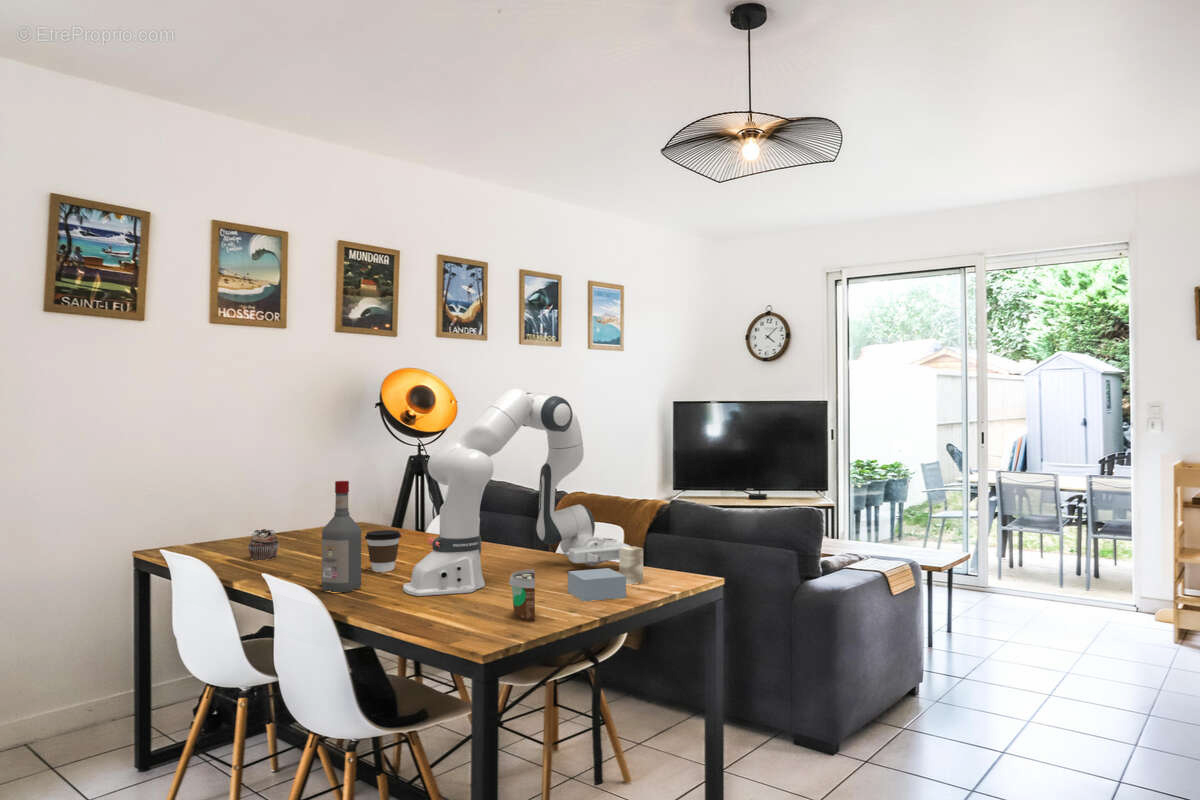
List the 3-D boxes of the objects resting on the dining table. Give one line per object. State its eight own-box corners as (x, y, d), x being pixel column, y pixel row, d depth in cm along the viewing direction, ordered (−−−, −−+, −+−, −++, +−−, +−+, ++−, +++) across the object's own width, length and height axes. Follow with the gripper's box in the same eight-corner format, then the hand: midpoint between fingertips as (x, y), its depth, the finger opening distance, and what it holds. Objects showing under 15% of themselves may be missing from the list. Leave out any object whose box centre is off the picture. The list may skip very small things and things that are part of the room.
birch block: (628, 585, 220) (628, 550, 221) (619, 582, 225) (619, 547, 225) (643, 583, 223) (643, 548, 223) (634, 580, 227) (634, 546, 227)
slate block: (583, 603, 201) (583, 579, 201) (567, 593, 212) (567, 571, 212) (626, 599, 205) (626, 576, 205) (608, 589, 216) (608, 568, 216)
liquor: (343, 594, 210) (344, 483, 211) (316, 591, 214) (317, 482, 214) (365, 587, 219) (366, 480, 219) (339, 585, 222) (340, 479, 223)
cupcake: (284, 556, 268) (284, 527, 268) (267, 562, 258) (267, 531, 258) (259, 556, 269) (259, 527, 270) (241, 561, 260) (241, 531, 260)
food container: (509, 610, 192) (509, 569, 193) (534, 609, 193) (534, 569, 193) (508, 623, 180) (508, 579, 180) (534, 622, 181) (534, 579, 181)
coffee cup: (385, 566, 250) (385, 528, 250) (408, 570, 243) (408, 531, 244) (357, 572, 241) (357, 533, 241) (380, 576, 234) (380, 536, 235)
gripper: (561, 543, 241) (581, 549, 229) (618, 538, 251) (641, 544, 239) (561, 563, 241) (581, 571, 229) (618, 558, 251) (641, 565, 238)
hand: (612, 557), depth 234 cm, fingers open, 8 cm apart
